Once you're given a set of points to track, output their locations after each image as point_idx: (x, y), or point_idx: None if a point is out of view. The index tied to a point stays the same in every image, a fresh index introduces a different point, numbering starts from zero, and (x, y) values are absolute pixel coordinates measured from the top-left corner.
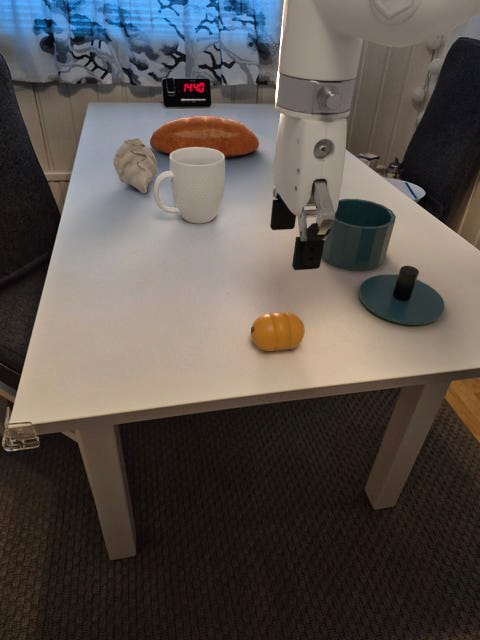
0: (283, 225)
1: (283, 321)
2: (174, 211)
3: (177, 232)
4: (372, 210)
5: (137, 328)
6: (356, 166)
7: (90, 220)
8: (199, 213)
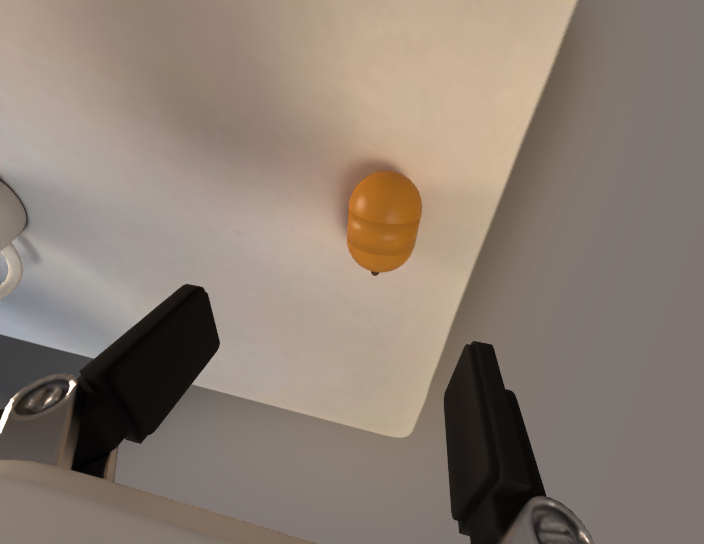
0: (204, 330)
1: (391, 236)
2: (14, 254)
3: (69, 248)
4: None
5: (306, 351)
6: None
7: (78, 337)
8: (2, 219)
